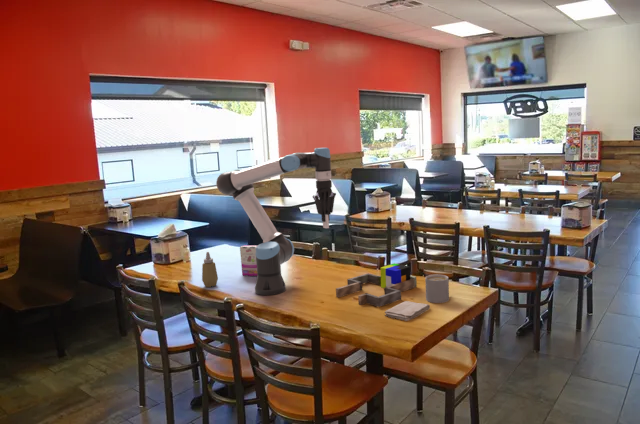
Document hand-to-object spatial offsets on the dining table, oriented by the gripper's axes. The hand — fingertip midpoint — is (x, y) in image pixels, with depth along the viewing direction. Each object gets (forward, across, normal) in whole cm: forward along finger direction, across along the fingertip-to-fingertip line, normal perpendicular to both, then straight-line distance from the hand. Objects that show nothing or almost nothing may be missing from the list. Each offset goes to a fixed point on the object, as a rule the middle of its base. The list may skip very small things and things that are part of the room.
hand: (326, 227), depth 259 cm
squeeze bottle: (+30, -42, +46) cm, 69 cm away
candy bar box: (+30, -16, +47) cm, 58 cm away
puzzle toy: (+30, +20, -26) cm, 44 cm away
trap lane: (+29, +9, -25) cm, 39 cm away
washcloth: (+30, -2, -54) cm, 62 cm away
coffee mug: (+29, +21, -52) cm, 63 cm away
